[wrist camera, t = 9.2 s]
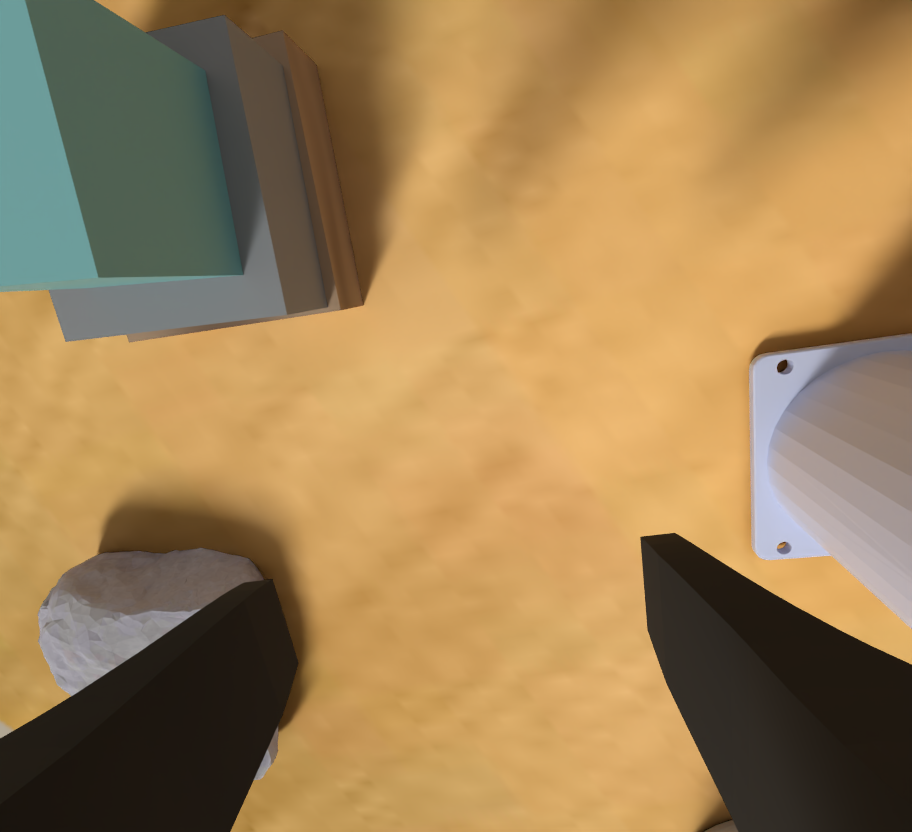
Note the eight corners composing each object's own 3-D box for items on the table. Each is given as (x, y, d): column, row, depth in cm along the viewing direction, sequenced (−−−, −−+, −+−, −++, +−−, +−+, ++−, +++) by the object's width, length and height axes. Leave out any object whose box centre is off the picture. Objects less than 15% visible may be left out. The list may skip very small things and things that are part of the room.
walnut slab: (322, 70, 17) (282, 30, 14) (367, 304, 19) (340, 310, 16) (121, 118, 18) (47, 90, 16) (183, 332, 20) (129, 342, 18)
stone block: (286, 526, 24) (75, 543, 24) (256, 589, 20) (-7, 612, 19) (318, 710, 28) (136, 728, 27) (300, 798, 23) (81, 823, 23)
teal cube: (205, 70, 12) (11, -53, 7) (243, 274, 13) (98, 277, 9) (34, 96, 13) (-241, -3, 8) (86, 288, 14) (-125, 297, 9)
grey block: (282, 65, 14) (224, 14, 12) (327, 307, 16) (287, 314, 13) (76, 107, 16) (-24, 71, 13) (140, 330, 17) (65, 341, 15)
